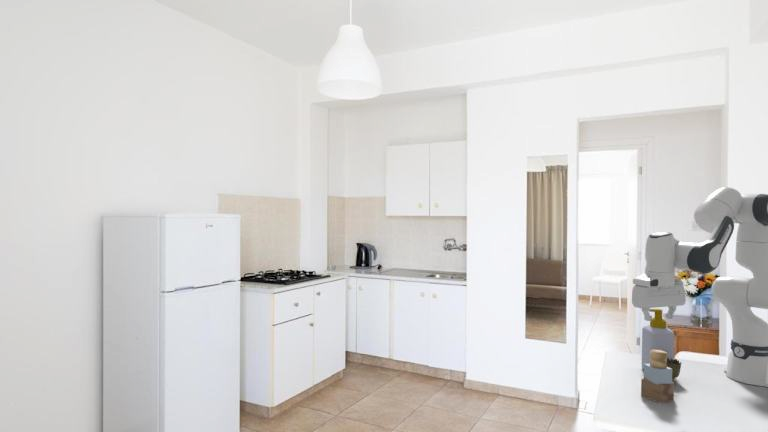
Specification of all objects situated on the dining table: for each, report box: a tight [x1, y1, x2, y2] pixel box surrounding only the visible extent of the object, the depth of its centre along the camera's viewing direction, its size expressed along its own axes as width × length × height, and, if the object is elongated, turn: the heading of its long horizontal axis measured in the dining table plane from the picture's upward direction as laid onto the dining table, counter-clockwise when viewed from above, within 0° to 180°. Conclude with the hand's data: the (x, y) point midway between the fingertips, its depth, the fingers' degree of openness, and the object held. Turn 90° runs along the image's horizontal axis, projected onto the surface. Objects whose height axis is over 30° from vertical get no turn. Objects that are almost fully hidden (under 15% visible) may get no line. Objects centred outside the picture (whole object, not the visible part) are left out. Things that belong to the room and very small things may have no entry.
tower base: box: [640, 377, 675, 404], centre depth 160 cm, size 7×7×6 cm
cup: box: [667, 358, 682, 383], centre depth 176 cm, size 8×7×8 cm
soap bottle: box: [641, 308, 675, 370], centre depth 185 cm, size 9×9×25 cm
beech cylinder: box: [650, 350, 667, 369], centre depth 159 cm, size 5×5×5 cm
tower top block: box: [643, 364, 672, 384], centre depth 159 cm, size 6×6×5 cm
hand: (658, 319), depth 159 cm, fingers open, 8 cm apart
